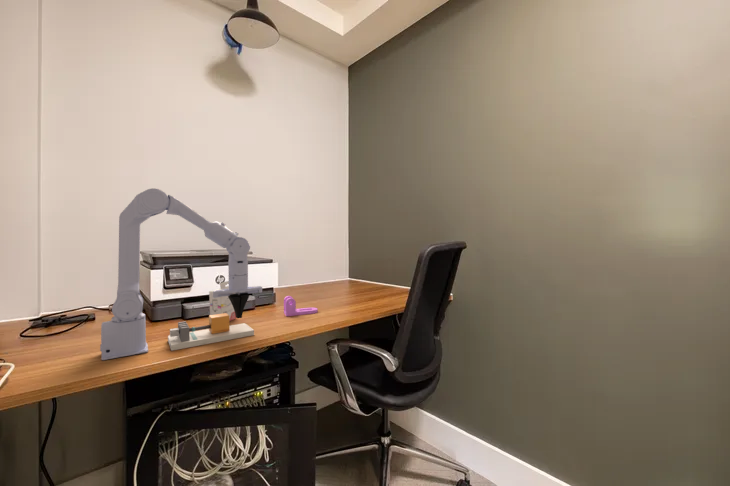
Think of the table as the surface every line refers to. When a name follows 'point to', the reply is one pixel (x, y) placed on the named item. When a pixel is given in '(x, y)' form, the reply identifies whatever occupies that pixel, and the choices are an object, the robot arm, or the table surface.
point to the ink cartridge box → (221, 303)
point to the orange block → (219, 323)
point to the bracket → (291, 308)
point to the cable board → (204, 335)
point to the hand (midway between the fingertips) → (238, 317)
